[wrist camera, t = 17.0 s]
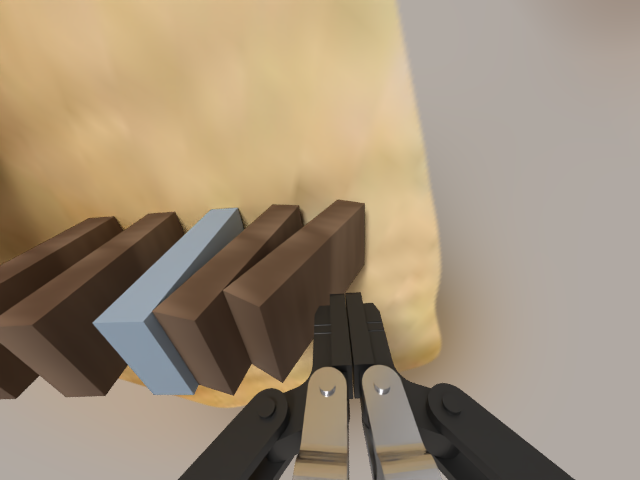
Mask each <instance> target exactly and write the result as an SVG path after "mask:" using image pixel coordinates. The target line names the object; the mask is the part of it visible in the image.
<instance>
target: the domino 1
mask: <svg viewBox="0 0 640 480" xmlns="http://www.w3.org/2000/svg"><path fill="white" fill-rule="evenodd" d="M121 232H123V230H122V229H121V227H120V225H119V223H118V222H117V220H116V218H115V217H114V216H113V217H100V218H88V219H87V220H85V221H83V222H81V223H79V224H77V225H75V226H73V227H71V228H70V229H68V230H66V231H64V232H62V233H60V234H58V235H56V236H55V237H53V238H51V239H49V240H47V241H45V242H43V243H41V244H40V245H38V246H36V247H34V248H32V249H30V250H28V251H26V252H25V253H23V254H21V255H19V256H17V257H15V258H13V259H11V260H9V261H8V262H6V263H4V264H2V265H0V315H1V314H3V313H4V312H6V311H7V310H9V309H10V308H11V307H13V306H14V305H16V304H17V303H19V302H20V301H22V300H23V299H25V298H26V297H28V296H29V295H30V294H32V293H33V292H35V291H36V290H38V289H39V288H41V287H42V286H44V285H45V284H47V283H48V282H49V281H51V280H52V279H54V278H55V277H57V276H58V275H60V274H61V273H63V272H64V271H66V270H67V269H68V268H70V267H71V266H73V265H74V264H76V263H77V262H79V261H80V260H82V259H83V258H85V257H86V256H87V255H89V254H90V253H92V252H93V251H95V250H96V249H98V248H99V247H101V246H102V245H104V244H105V243H106V242H108V241H109V240H111V239H112V238H114V237H115V236H117V235H118V234H120V233H121ZM38 376H40V375H39V374H37V373H36V372H35V371H34V370H33V369H31V368H30V367H29V366H28V365H26V364H25V363H24V362H23V361H22V360H20V359H19V358H18V357H17V356H16V355H14V354H13V353H12V352H11V351H10V350H8V349H7V348H6V347H5V346H4V345H2V344H1V343H0V399H16V398H17V397H18V396H19V395H20V394H21V393H22V392H23V391H24V390H25V389H26V388H27V387H28V386H29V385H30V384H31V383H32V382H34V380H36V378H38Z"/></svg>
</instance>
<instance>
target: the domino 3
mask: <svg viewBox="0 0 640 480" xmlns="http://www.w3.org/2000/svg"><path fill="white" fill-rule="evenodd" d="M243 230H244V227H243V224H242V221H241V217H240V214H239V210H238V208H227V209H212V210H210V211H209V212H208V213H207V214H206V215H205V216H204V217H203V218H202V219H201V220H199V221H198V222H197V223H196V224H195V225H194V226H193V227H192V228H191V229H190V230H189V231H188V232H187V233H186V234H185V235H184V236H183V237H182V238H181V239H180V240H179V241H178V242H176V243H175V244H174V245H173V246H172V247H171V248H170V249H169V250H168V251H167V252H166V253H165V254H164V255H163V256H162V257H161V258H160V259H159V260H158V261H157V262H156V263H155V264H154V265H152V266H151V267H150V268H149V269H148V270H147V271H146V272H145V273H144V274H143V275H142V276H141V277H140V278H139V279H138V280H137V281H136V282H135V283H134V284H133V285H132V286H131V287H129V288H128V289H127V290H126V291H125V292H124V293H123V294H122V295H121V296H120V297H119V298H118V299H117V300H116V301H115V302H114V303H113V304H112V305H111V306H110V307H109V308H108V309H106V310H105V311H104V312H103V313H102V314H101V315H100V316H99V317H98V318H97V319H96V320H95V321H94V322H93V324H94V326H95V327H96V328H97V329H98V330H99V331H100V333H101V334H102V335H103V336H104V337H105V338H106V340H107V341H108V342H109V343H110V344H111V345H112V347H113V348H114V349H115V350H116V351H117V352H118V354H119V355H120V356H121V357H122V358H123V359H124V361H125V362H126V363H127V364H128V365H129V366H130V368H131V369H132V370H133V371H134V372H135V373H136V375H137V376H138V377H139V378H140V379H141V380H142V382H143V383H144V384H145V385H146V386H147V387H148V389H149V390H150V391H151V392H152V393H153V394H154V395H194V394H195V391H196V389H197V387H198V385H199V384H198V383H197V381H196V380H195V378H194V377H193V375H192V373H191V372H190V370H189V369H188V367H187V366H186V364H185V362H184V361H183V359H182V358H181V356H180V355H179V353H178V352H177V350H176V348H175V347H174V345H173V344H172V342H171V341H170V339H169V337H168V336H167V334H166V333H165V331H164V330H163V328H162V326H161V325H160V323H159V322H158V320H157V319H156V317H155V316H154V314H153V312H152V311H153V310H154V309H155V308H156V307H157V306H158V305H160V304H161V303H162V302H163V301H164V300H165V299H166V298H167V297H169V296H170V295H171V294H172V293H173V292H174V291H175V290H177V289H178V288H179V287H180V286H181V285H182V284H183V283H184V282H186V281H187V280H188V279H189V278H190V277H191V276H192V275H193V274H195V273H196V272H197V271H198V270H199V269H200V268H201V267H203V266H204V265H205V264H206V263H207V262H208V261H209V260H210V259H212V258H213V257H214V256H215V255H216V254H217V253H218V252H220V251H221V250H222V249H223V248H224V247H225V246H226V245H227V244H229V243H230V242H231V241H232V240H233V239H234V238H235V237H237V236H238V235H239V234H240V233H241V232H242V231H243Z"/></svg>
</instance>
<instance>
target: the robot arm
mask: <svg viewBox="0 0 640 480" xmlns="http://www.w3.org/2000/svg"><path fill="white" fill-rule="evenodd" d="M352 378H353V379H352ZM353 387H354V397H355V398H360V402H361V410H362V424H363V430H364V435H365V440H366V445H367V451H368V456H369V462H370V467H371V473H372V478H373V480H442V478H441V475H440V472H439V470H440V471H441V472H442V473H443V474H444V475H445V476H446V478H447V479H448V480H575V479H573V478H572V477H571V476H570V475H568V474H567V473H566V472H565V471H563V470H562V469H561V468H559V467H558V466H557V465H556V464H554V463H553V462H552V461H551V460H549V459H548V458H547V457H545V456H544V455H543V454H542V453H540V452H539V451H538V450H537V449H535V448H534V447H533V446H532V445H530V444H529V443H528V442H526V441H525V440H524V439H523V438H521V437H520V436H519V435H518V434H516V433H515V432H514V431H513V430H511V429H510V428H509V427H508V426H506V425H505V424H503V423H502V422H501V421H500V420H499V419H497V418H496V417H495V416H494V415H492V414H491V413H490V412H488V411H487V410H486V409H485V408H483V407H482V406H481V405H480V404H478V403H477V402H476V401H475V400H473V399H472V398H471V397H470V396H468V395H467V394H466V393H464V392H463V391H462V390H460V389H459V388H457V387H456V386H453V385H450V384H446V383H440V384H436V385H435V386H433V387H432V388H428V387H424V386H421V385H418V384H415V383H412V382H410V381H408V380H406V379H405V378H403V377H402V376H401V375H400V374H399V373H398V372H397V370H396V369H395V367H394V364H393V361H392V357H391V354H390V350H389V346H388V342H387V338H386V334H385V331H384V327H383V323H382V319H381V315H380V311H379V310H378V309H377V308H376V306H375V305H374V304H373V303H363V301H362V296H361V292H358V293H346V304H345V294H344V293H341V294H330V305H326V306H319V307H318V309H317V311H316V313H315V317H314V343H313V367H312V372H311V374H310V376H309V378H308V379H307V380H306V382H304V383H303V384H302V385H301V386H299V387H297V388H295V389H292V390H290V391H287V392H285V393H282V392H281V391H280V390H277V389H274V388H270V389H265V390H263V391H261V392H259V393H258V394H257V395H256V396H255V397H254V398H253V399H252V400H251V401H250V402H249V403H248V404H247V405H246V406H245V408H243V410H242V411H241V412H240V413H239V414H238V415H237V416H236V417H235V418H234V419H233V420H232V422H231V423H230V424H229V425H228V426H227V427H226V428H225V429H224V430H223V431H222V432H221V433H220V435H219V436H218V437H217V438H216V439H215V440H214V441H213V442H212V443H211V444H210V445H209V446H208V448H207V449H206V450H205V451H204V452H203V453H202V454H201V455H200V456H199V457H198V458H197V459H196V461H195V462H194V463H193V464H192V465H191V466H190V467H189V468H188V469H187V470H186V472H185V473H184V474H183V475H182V476H181V477H180V478H179V479H178V480H279V478H280V477H281V475H282V474H283V472H284V471H285V469H286V468H287V466H288V465H289V464H290V462H291V461H292V459H293V458H294V456H295V455H296V454H298V455H297V458H296V462H295V466H294V473H293V480H349V425H348V424H349V420H350V408H349V399H353ZM438 469H439V470H438Z"/></svg>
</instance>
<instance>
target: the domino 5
mask: <svg viewBox="0 0 640 480" xmlns="http://www.w3.org/2000/svg"><path fill="white" fill-rule="evenodd" d="M364 247H365V203H358V202H351V201H344V200H337V201H335V202H334V203H333V204H332V205H330V206H329V207H328V208H326V209H325V210H324V211H323V212H321V213H320V214H319V215H318V216H316V217H315V218H314V219H313V220H311V221H310V222H309V223H307V224H306V225H305V226H304V227H302V228H301V229H300V230H299V231H297V232H296V233H295V234H294V235H292V236H291V237H290V238H288V239H287V240H286V241H285V242H283V243H282V244H281V245H280V246H278V247H277V248H276V249H275V250H273V251H272V252H271V253H269V254H268V255H267V256H266V257H264V258H263V259H262V260H261V261H259V262H258V263H257V264H256V265H254V266H253V267H252V268H250V269H249V270H248V271H247V272H245V273H244V274H243V275H242V276H240V277H239V278H238V279H237V280H235V281H234V282H233V283H231V284H230V285H229V286H228V287H226V288H225V289H224V290H223V292H224V295H225V297H226V300H227V302H228V305H229V307H230V310H231V312H232V315H233V317H234V320H235V322H236V325H237V327H238V330H239V332H240V335H241V337H242V340H243V343H244V345H245V348H246V350H247V353H248V355H249V358H250V360H251V363H252V364H253V365H255V366H256V367H258V368H259V369H261V370H263V371H264V372H266V373H268V374H269V375H271V376H272V377H274V378H276V379H277V380H279V381H280V382H282V383H283V382H284V380H285V379H286V377H287V376H288V375H289V373H290V372H291V370H292V369H293V367H294V366H295V364H296V363H297V361H298V360H299V359H300V357H301V356H302V354H303V353H304V351H305V350H306V348H307V347H308V346H309V344H310V343H311V341H312V340H313V338H314V317H315V313H316V311H317V309H318V307H319V306H326V305H330V294H341V293H345V292H346V290H347V289H348V288H349V286H350V285H351V283H352V282H353V280H354V279H355V277H356V276H357V274H358V273H359V272H360V270H361V269H362V267H363V266H364Z"/></svg>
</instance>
